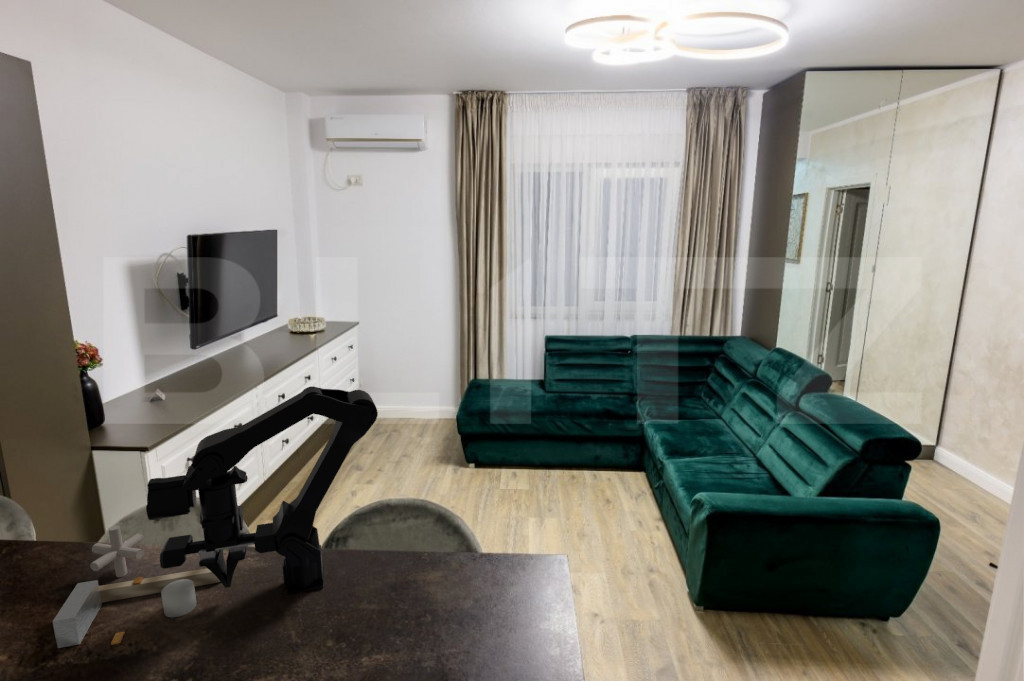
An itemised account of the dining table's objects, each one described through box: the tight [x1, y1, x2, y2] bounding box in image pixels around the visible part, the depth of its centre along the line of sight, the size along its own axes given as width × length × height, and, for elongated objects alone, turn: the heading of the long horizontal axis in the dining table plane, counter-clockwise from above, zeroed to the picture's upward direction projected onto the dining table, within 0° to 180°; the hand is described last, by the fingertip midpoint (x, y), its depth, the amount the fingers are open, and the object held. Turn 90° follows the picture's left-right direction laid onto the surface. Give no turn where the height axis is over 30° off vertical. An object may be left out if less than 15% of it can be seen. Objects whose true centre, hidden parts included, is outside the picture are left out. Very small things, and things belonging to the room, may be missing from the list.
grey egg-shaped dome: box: [160, 579, 197, 618], centre depth 101 cm, size 5×5×4 cm
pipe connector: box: [89, 524, 145, 578], centre depth 109 cm, size 10×10×10 cm
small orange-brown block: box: [110, 631, 125, 646], centre depth 94 cm, size 1×2×1 cm, turn 18°
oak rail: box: [99, 567, 221, 603], centre depth 105 cm, size 22×2×3 cm, turn 108°
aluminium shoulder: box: [52, 579, 103, 649], centre depth 96 cm, size 3×10×5 cm, turn 18°
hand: (228, 586), depth 103 cm, fingers closed
